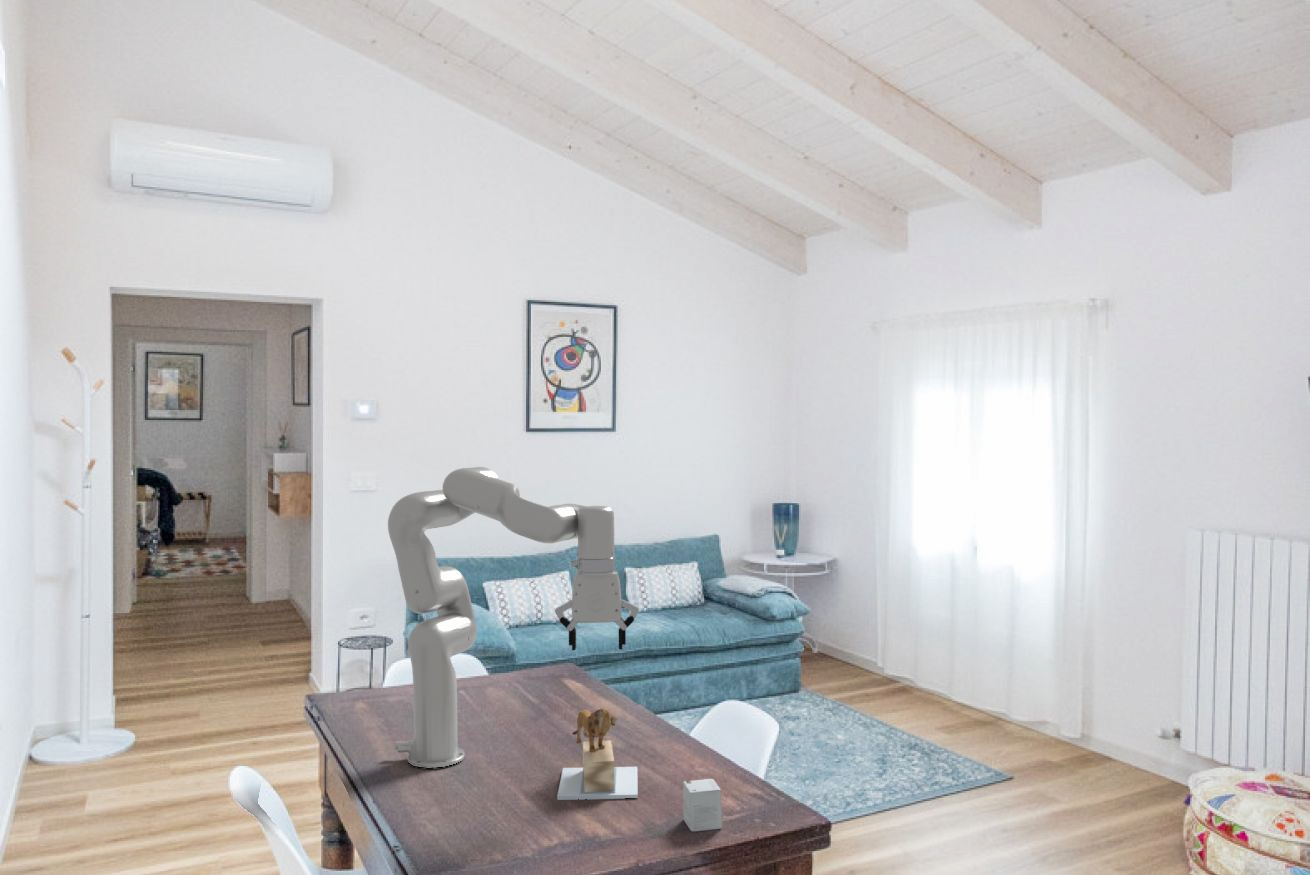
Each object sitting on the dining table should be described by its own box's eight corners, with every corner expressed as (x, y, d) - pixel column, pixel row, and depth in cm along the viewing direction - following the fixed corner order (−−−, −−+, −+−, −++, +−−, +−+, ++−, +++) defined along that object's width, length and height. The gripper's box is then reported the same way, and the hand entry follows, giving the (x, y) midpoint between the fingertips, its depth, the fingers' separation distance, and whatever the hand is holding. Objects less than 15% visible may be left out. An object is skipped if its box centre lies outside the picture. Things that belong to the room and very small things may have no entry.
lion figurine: (621, 751, 204) (620, 708, 204) (599, 757, 201) (599, 713, 200) (582, 734, 216) (582, 693, 215) (561, 739, 212) (561, 697, 212)
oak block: (584, 792, 198) (584, 762, 198) (583, 769, 211) (582, 741, 210) (614, 790, 198) (614, 761, 198) (611, 768, 211) (610, 740, 211)
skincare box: (722, 829, 181) (722, 789, 181) (690, 832, 180) (690, 792, 180) (713, 816, 187) (713, 777, 187) (682, 819, 186) (682, 780, 186)
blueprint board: (557, 800, 196) (557, 795, 196) (563, 771, 212) (563, 767, 212) (637, 798, 197) (637, 793, 197) (637, 770, 213) (637, 765, 213)
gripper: (553, 569, 200) (554, 653, 200) (638, 568, 200) (639, 652, 200) (555, 564, 207) (556, 645, 208) (638, 562, 208) (639, 643, 208)
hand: (597, 648), depth 204 cm, fingers open, 9 cm apart
